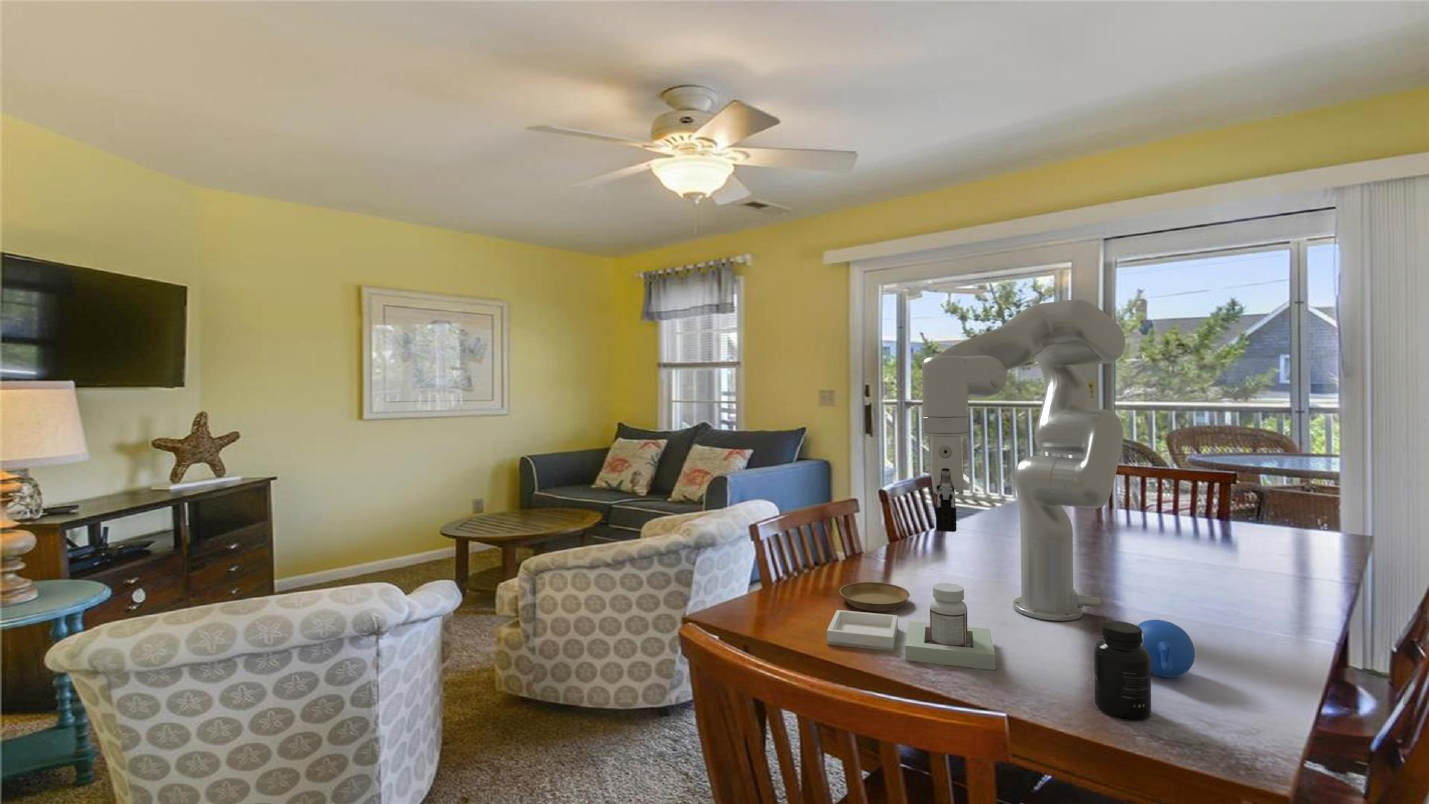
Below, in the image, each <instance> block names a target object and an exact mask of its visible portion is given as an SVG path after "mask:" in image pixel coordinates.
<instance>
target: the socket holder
mask: <svg viewBox="0 0 1429 804" xmlns="http://www.w3.org/2000/svg"><path fill="white" fill-rule="evenodd" d="M967 636H968V646H972V647H968V648H967V647H957V646H947V645H938V644H930V643H927V642H926V641H928V642H930V622H929V623H928V622H927V623H926V622H919V621H918V622H917V621H908V625H907V630H906V637H905V642H904V643H905V644H904V652H905V653H904V655H905V656H904V657H905V658H904V660H905V661H910V662H918V663H926V664H927V663H928V664H936V665H947V666H953V667H962V668H969V669H970V668H973V669H979V670H989V671H996V654H995V649H994V643H993V639H992V633H991V629H990V628H983V627H981V628H980V627H973V626H967Z"/></svg>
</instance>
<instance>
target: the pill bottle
mask: <svg viewBox="0 0 1429 804" xmlns="http://www.w3.org/2000/svg"><path fill="white" fill-rule="evenodd" d="M932 597H933V598H934V599H932V600H931V601H930V603H929V619H930V621H929V623H930V641H929V642H930V643H929V644H938V645H947V646H957V647H967V648H969V645H968V636H967V627H968V606H967V604H966V602H964V601H963V600H964V599H965V589H964V587H962V586H961V585H958V584H956V583H951V582H950V583H949V582H948V583H947V582H940V583H939V582H938V583H934V584H933V586H932Z"/></svg>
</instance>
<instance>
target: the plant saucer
mask: <svg viewBox="0 0 1429 804" xmlns="http://www.w3.org/2000/svg"><path fill="white" fill-rule="evenodd" d="M839 594H840V595H841V596H842V598H843V599H844V601H846V603H848V604H849V605H850V606H851V607H853V608H855V609H858V610H862V611H867V612H890V611H895V610H898V609H899V608H901V607H902V606H903V605H904V604H905V603H906V602H907V601H908V600H909V598H910V596H911V593H910V591H908V589H906V588H904V587H902V586H899V585H896V584H892V583H886V582H879V581H878V582H877V581H862V582H861V581H860V582H853V583H849V584H845V585H844V586H841V588H839Z"/></svg>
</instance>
